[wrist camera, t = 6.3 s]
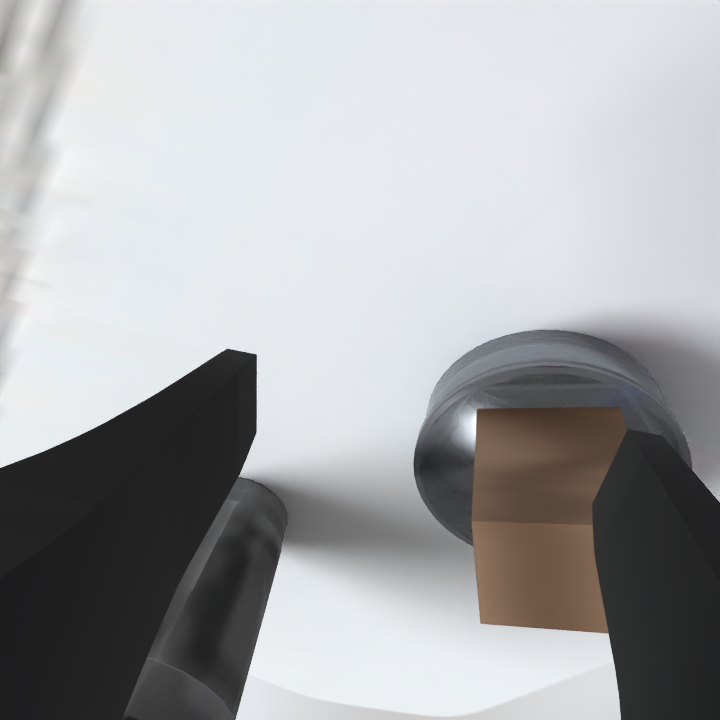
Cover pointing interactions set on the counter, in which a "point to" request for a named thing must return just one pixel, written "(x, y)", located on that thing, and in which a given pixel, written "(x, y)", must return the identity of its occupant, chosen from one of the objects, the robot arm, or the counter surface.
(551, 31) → the counter surface
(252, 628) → the beverage cup
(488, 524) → the walnut block
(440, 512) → the grey tin
